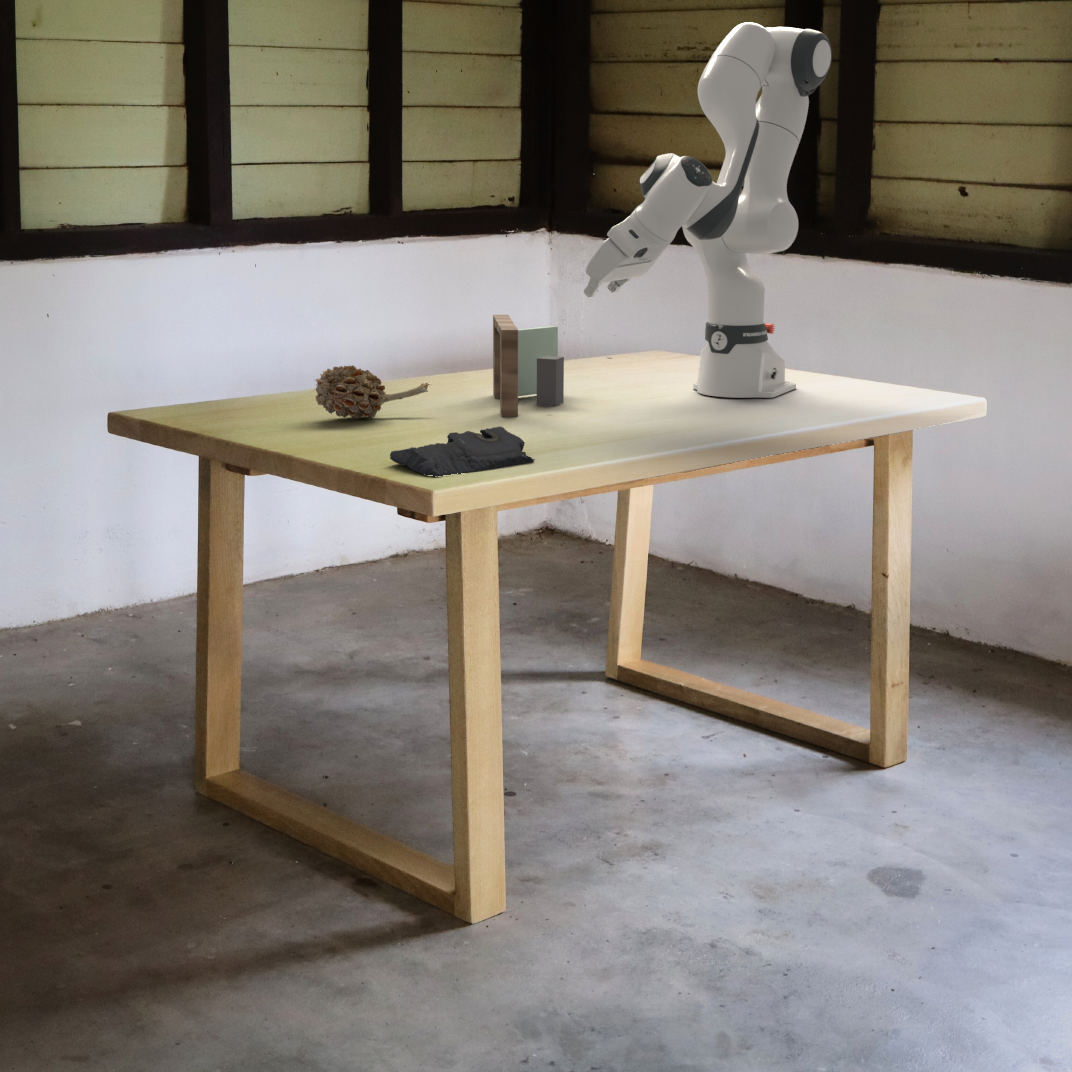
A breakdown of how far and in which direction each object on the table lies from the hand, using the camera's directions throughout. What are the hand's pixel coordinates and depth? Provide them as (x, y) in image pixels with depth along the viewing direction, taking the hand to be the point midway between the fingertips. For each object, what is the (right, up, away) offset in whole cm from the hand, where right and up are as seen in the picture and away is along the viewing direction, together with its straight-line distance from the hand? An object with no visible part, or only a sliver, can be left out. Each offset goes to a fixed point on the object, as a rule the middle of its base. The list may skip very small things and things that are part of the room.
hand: (599, 292), depth 282 cm
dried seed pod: (-42, -24, -4) cm, 48 cm away
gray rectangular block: (-9, -20, +12) cm, 25 cm away
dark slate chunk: (-24, -34, -42) cm, 59 cm away
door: (-13, -17, +20) cm, 30 cm away
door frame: (-18, -20, +10) cm, 29 cm away
